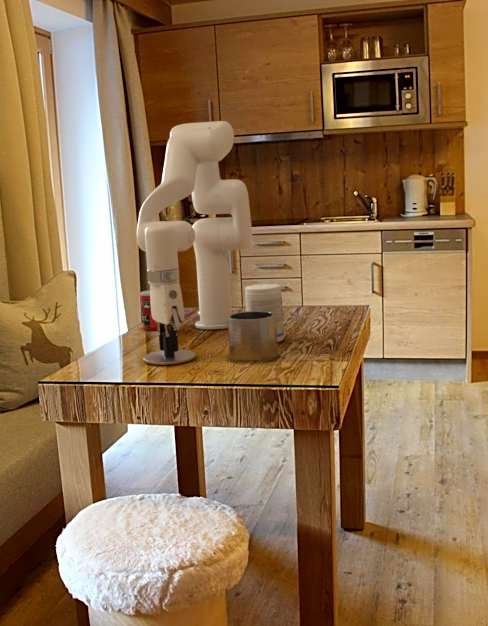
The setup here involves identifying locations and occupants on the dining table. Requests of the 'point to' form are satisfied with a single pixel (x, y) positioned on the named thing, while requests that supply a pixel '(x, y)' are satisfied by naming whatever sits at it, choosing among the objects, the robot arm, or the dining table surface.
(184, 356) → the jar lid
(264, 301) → the supplement tub
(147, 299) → the canned food
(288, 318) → the dining table surface
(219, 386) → the dining table surface
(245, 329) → the steel jar
